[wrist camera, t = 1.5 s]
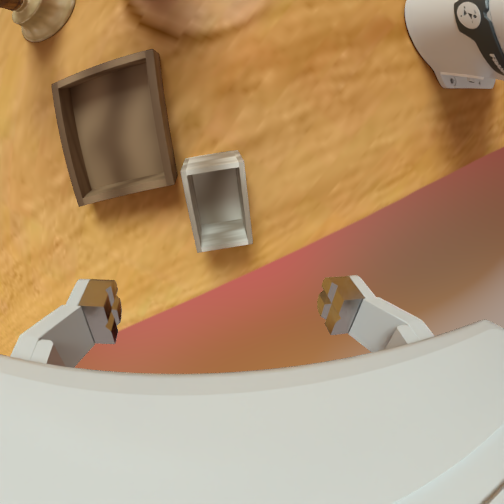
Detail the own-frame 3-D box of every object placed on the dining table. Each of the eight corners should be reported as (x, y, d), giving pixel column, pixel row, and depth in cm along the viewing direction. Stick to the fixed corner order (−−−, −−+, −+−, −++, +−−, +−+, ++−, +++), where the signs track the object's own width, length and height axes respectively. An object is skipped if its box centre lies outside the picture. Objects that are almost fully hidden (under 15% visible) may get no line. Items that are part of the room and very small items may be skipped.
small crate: (237, 149, 30) (243, 161, 25) (245, 220, 35) (252, 243, 30) (185, 158, 30) (180, 171, 25) (198, 227, 35) (197, 252, 30)
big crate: (158, 53, 23) (152, 48, 20) (177, 175, 31) (174, 184, 28) (66, 84, 22) (51, 84, 19) (89, 195, 30) (78, 206, 27)
